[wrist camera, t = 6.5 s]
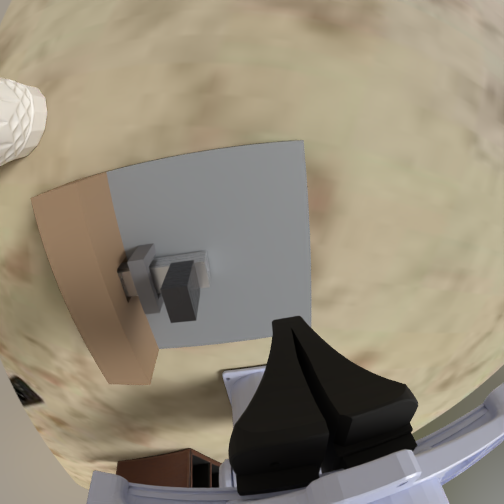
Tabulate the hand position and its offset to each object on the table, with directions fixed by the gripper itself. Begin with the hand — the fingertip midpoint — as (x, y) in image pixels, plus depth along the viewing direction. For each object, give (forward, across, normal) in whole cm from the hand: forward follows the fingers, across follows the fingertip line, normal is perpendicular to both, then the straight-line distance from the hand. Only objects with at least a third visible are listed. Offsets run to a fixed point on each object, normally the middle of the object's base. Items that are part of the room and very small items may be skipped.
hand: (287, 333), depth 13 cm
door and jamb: (+10, +6, 0) cm, 12 cm away
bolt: (+9, +9, 0) cm, 13 cm away
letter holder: (+11, +21, +40) cm, 46 cm away
